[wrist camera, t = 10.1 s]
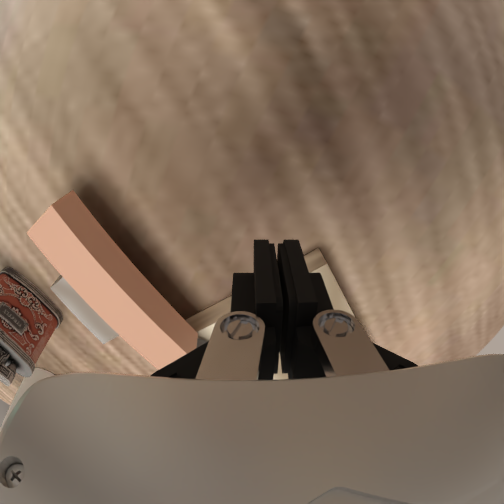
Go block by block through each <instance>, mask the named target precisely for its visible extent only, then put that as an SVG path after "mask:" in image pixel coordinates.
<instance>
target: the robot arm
mask: <svg viewBox="0 0 504 504" xmlns="http://www.w3.org/2000/svg"><path fill="white" fill-rule="evenodd" d="M279 353H280V359H281V369H282V374H284V373H288V379H280V380H273V376H274V374H277V373H278V364H279ZM0 504H504V354H488V355H479V356H473V357H468V358H462V359H456V360H450V361H446V362H440V363H435V364H429V365H423V366H418V365H416V364H414V363H413V362H411V361H409V360H407V359H405V358H403V357H401V356H399V355H396V354H394V353H392V352H390V351H388V350H386V349H384V348H382V347H380V346H378V345H376V344H374V343H372V341H371V340H370V338H369V337H368V335H367V334H366V332H365V331H364V329H363V327H362V326H361V324H360V323H359V321H358V320H357V319H356V318H355V317H354V316H353V315H351V314H350V313H348V312H345V311H342V310H334V309H333V306H332V303H331V300H330V297H329V295H328V292H327V289H326V286H325V284H324V281H323V278H322V275H321V273H309V271H308V268H307V265H306V262H305V259H304V255H303V252H302V249H301V246H300V243H299V240H284V241H283V244H278V255H277V259H276V253H275V246H274V244H269V241H268V240H254V273H234V274H233V285H232V298H231V311H230V313H227V314H225V315H223V316H221V317H220V318H219V319H218V320H217V322H216V323H215V326H214V329H213V331H212V334H211V337H210V340H209V341H208V342H206V343H204V344H203V345H201V346H199V347H198V348H196V349H194V350H193V351H191V352H189V353H187V354H186V355H184V356H182V357H181V358H179V359H177V360H175V361H174V362H172V363H170V364H168V365H167V366H165V367H163V368H161V369H160V370H158V371H156V372H155V373H154V374H152V375H151V376H144V375H129V374H117V373H107V372H74V373H66V374H60V375H54V376H51V377H47V378H44V379H41V380H39V381H37V382H36V383H34V384H33V385H32V386H30V387H29V388H28V389H27V390H26V391H25V393H24V394H23V395H22V396H21V398H20V399H19V400H18V402H17V403H16V405H15V407H14V408H13V410H12V411H11V413H10V415H9V416H8V418H7V420H6V422H5V424H4V426H3V428H2V430H1V432H0Z"/></svg>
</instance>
